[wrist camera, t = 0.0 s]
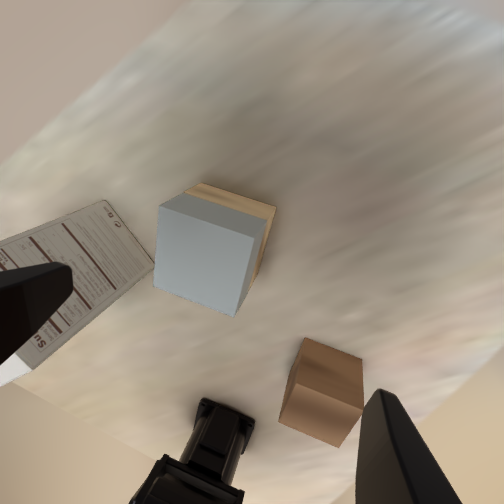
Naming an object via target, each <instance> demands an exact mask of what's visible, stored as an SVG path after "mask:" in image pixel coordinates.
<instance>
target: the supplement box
mask: <svg viewBox="0 0 504 504" xmlns="http://www.w3.org/2000/svg"><path fill="white" fill-rule="evenodd" d="M55 261H58V262H61V263H64V264H66V265H69V266H70V267H71V268H72V274H73V285H74V289H73V292H72V294H71V296H70V297H69V298H68V299H67V300H66V301H65V302H64V303H63V304H62V305H61V307H60V308H59V309H58V310H57V311H56V312H55V313H54V314H53V315H52V316H51V317H50V318H49V319H48V321H47V322H46V323H45V324H44V325H43V326H42V327H41V328H40V329H39V330H38V331H37V332H36V333H35V334H34V335H33V336H32V337H31V338H30V339H29V340H28V341H27V342H26V343H25V344H24V345H23V346H22V347H20V348H19V349H18V350H17V351H16V352H15V353H14V354H13V355H11V356H10V357H9V358H8V359H7V360H6V361H5V362H4V363H3V364H1V365H0V387H1V386H3V385H5V384H7V383H9V382H11V381H14V380H16V379H18V378H20V377H21V376H23V375H25V374H27V373H29V372H31V371H33V370H34V369H35V368H36V367H38V366H39V365H40V364H41V363H42V362H44V361H45V360H46V359H47V358H48V357H49V356H51V355H52V354H53V353H54V352H55V351H57V350H58V349H59V348H60V347H61V346H62V345H64V344H65V343H66V342H67V341H68V340H70V339H71V338H72V337H73V336H74V335H75V334H77V333H78V332H79V331H80V330H81V329H83V328H84V327H85V326H86V325H87V324H89V323H90V322H91V321H92V320H93V319H95V318H96V317H97V316H98V315H99V314H101V313H102V312H103V311H104V310H105V309H107V308H108V307H109V306H110V305H111V304H112V303H114V302H115V301H116V300H117V299H118V298H119V297H121V296H122V295H123V294H124V293H125V292H126V291H128V290H129V289H130V288H131V287H132V286H133V285H134V284H136V283H137V282H138V281H139V280H140V279H141V278H143V277H144V276H145V275H146V274H147V273H148V272H150V271H151V270H152V269H153V268H154V267H155V265H154V263H153V261H152V260H151V259H150V257H149V256H148V255H147V253H146V252H145V251H144V250H143V248H142V247H141V245H140V244H139V243H138V242H137V240H136V239H135V238H134V236H133V235H132V234H131V232H130V231H129V230H128V228H127V227H126V226H125V224H124V223H123V222H122V221H121V219H120V218H119V217H118V215H117V214H116V213H115V212H114V210H113V209H112V208H111V206H110V205H109V204H108V203H107V202H106V201H105V200H103V201H101V202H98V203H95V204H93V205H90V206H88V207H86V208H83V209H81V210H78V211H76V212H73V213H71V214H68V215H66V216H63V217H61V218H58V219H55V220H53V221H50V222H48V223H45V224H43V225H40V226H38V227H35V228H32V229H30V230H27V231H25V232H22V233H20V234H17V235H15V236H12V237H9V238H7V239H4V240H2V241H0V271H5V270H10V269H16V268H21V267H27V266H32V265H38V264H44V263H49V262H55Z"/></svg>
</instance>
